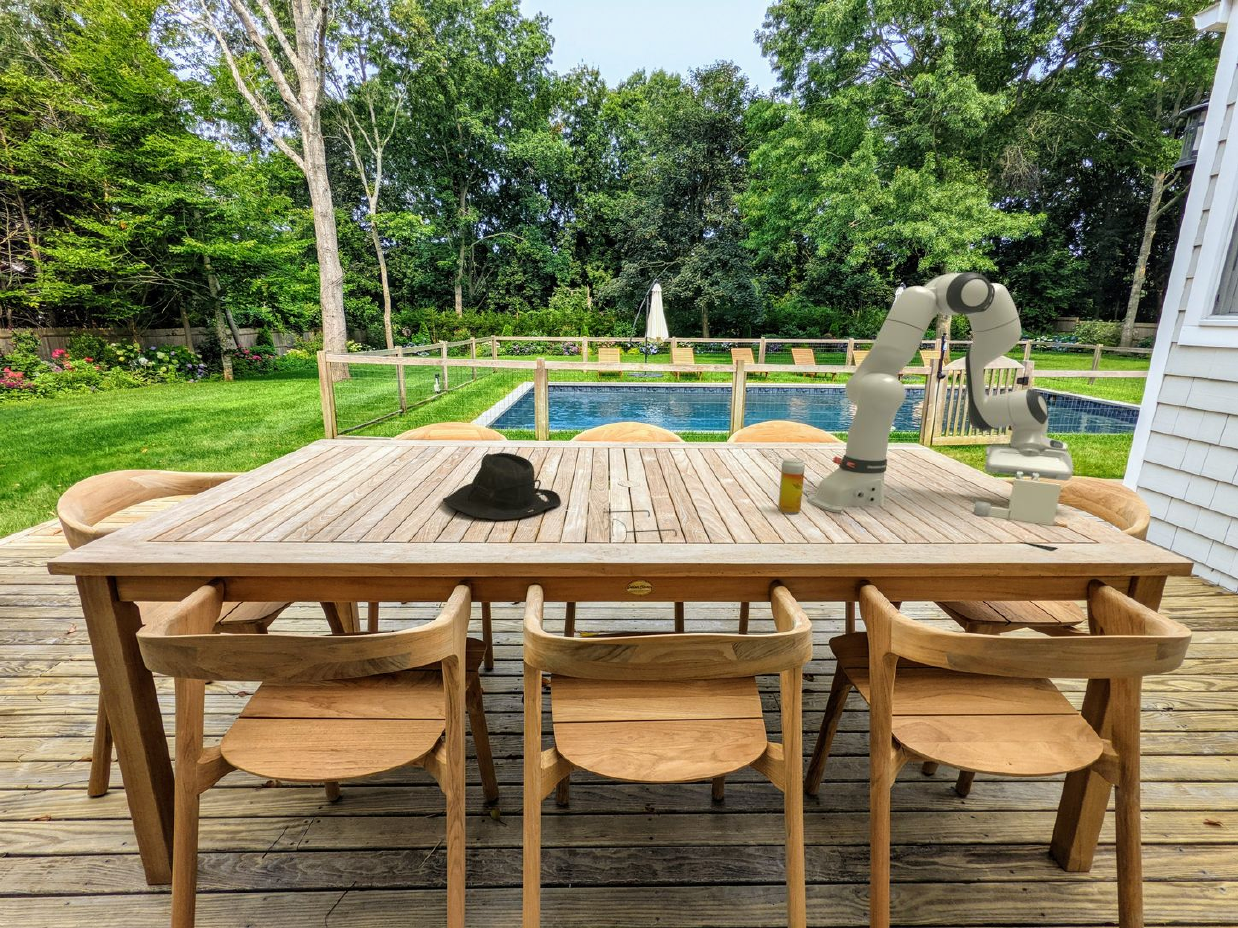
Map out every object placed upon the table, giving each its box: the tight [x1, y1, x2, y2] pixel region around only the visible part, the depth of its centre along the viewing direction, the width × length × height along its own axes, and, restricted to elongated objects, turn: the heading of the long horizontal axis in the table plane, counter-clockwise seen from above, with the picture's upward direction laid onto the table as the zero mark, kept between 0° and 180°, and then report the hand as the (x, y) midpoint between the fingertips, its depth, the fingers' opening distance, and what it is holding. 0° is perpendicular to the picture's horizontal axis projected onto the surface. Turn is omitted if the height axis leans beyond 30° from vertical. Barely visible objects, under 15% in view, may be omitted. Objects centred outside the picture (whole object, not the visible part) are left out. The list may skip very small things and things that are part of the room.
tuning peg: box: [973, 478, 1068, 528], centre depth 149 cm, size 21×4×11 cm, turn 60°
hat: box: [442, 452, 562, 521], centre depth 161 cm, size 32×35×14 cm
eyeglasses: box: [602, 507, 678, 543], centre depth 141 cm, size 16×15×5 cm
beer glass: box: [777, 457, 806, 515], centre depth 157 cm, size 6×6×15 cm
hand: (1026, 487), depth 155 cm, fingers closed
